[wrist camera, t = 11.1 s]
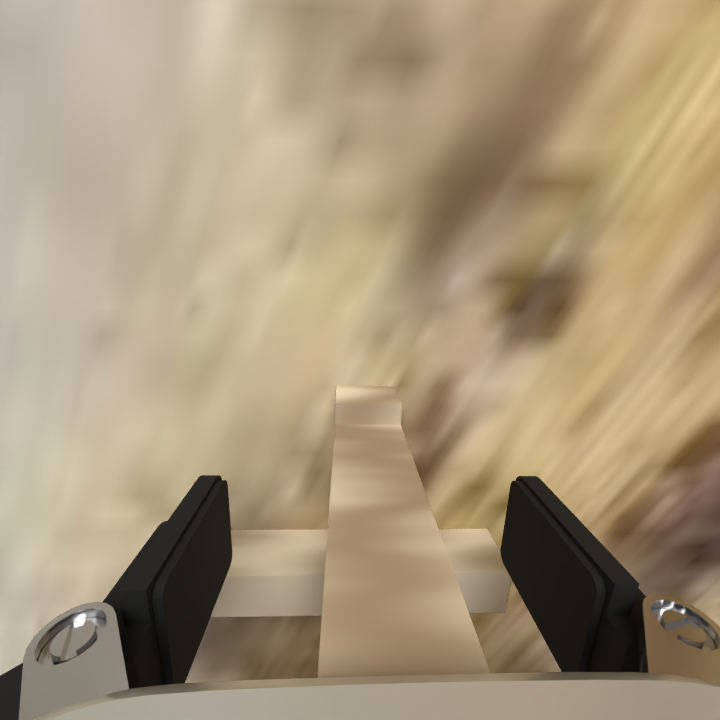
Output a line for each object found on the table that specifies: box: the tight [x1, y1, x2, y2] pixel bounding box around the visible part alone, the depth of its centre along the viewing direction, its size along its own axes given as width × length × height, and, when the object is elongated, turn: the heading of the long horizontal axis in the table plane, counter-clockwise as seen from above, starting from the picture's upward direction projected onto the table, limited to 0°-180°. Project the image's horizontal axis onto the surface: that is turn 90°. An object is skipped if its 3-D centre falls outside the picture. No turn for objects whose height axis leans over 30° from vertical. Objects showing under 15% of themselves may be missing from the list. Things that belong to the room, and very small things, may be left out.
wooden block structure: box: [212, 386, 511, 678], centre depth 10 cm, size 12×9×11 cm
